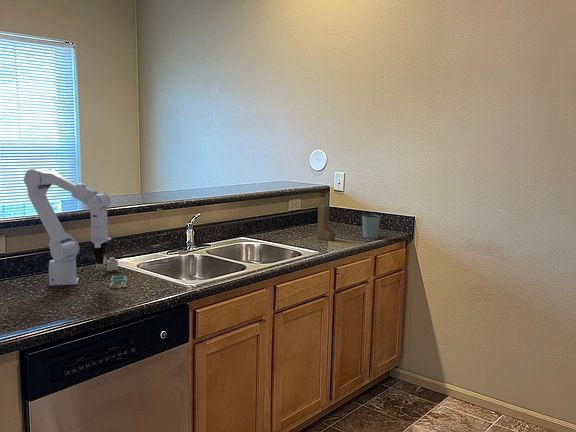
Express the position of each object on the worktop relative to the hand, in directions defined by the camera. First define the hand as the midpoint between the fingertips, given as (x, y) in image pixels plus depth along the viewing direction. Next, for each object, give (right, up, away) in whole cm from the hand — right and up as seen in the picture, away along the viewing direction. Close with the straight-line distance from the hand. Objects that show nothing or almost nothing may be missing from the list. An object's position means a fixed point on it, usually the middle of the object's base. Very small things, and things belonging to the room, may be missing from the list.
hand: (100, 262), depth 205 cm
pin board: (+5, -9, +4) cm, 11 cm away
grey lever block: (-4, -5, +22) cm, 23 cm away
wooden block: (+90, +4, +98) cm, 133 cm away
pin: (0, -2, 0) cm, 2 cm away
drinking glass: (+115, +5, +108) cm, 158 cm away
